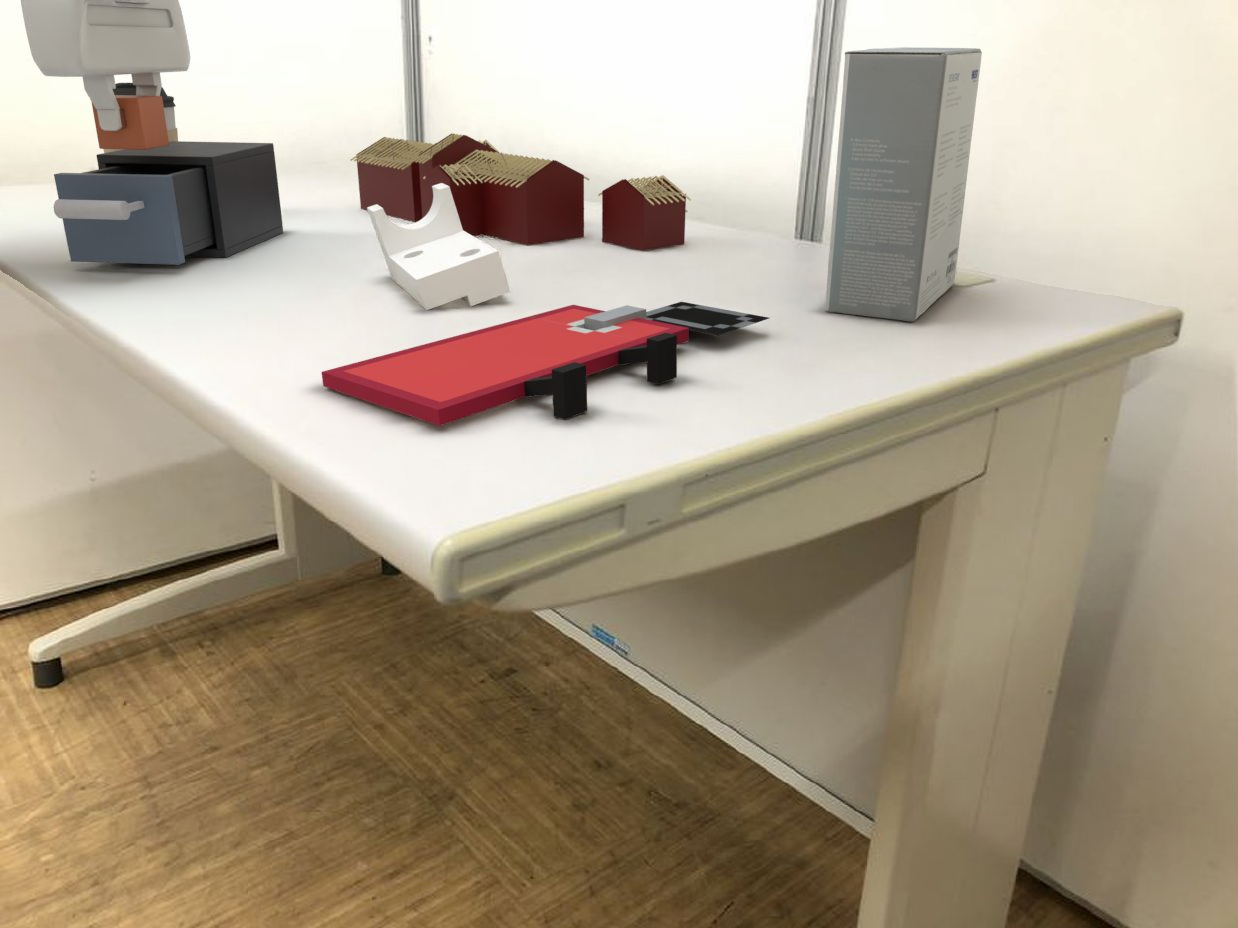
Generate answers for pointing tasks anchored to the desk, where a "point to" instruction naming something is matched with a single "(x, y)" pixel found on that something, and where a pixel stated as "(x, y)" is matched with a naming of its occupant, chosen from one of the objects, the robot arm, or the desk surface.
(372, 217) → the bracket
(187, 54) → the robot arm
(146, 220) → the drawer
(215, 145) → the cabinet
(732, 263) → the desk surface
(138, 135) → the block
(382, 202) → the toy houses
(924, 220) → the hard drive box
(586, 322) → the red board with handle
